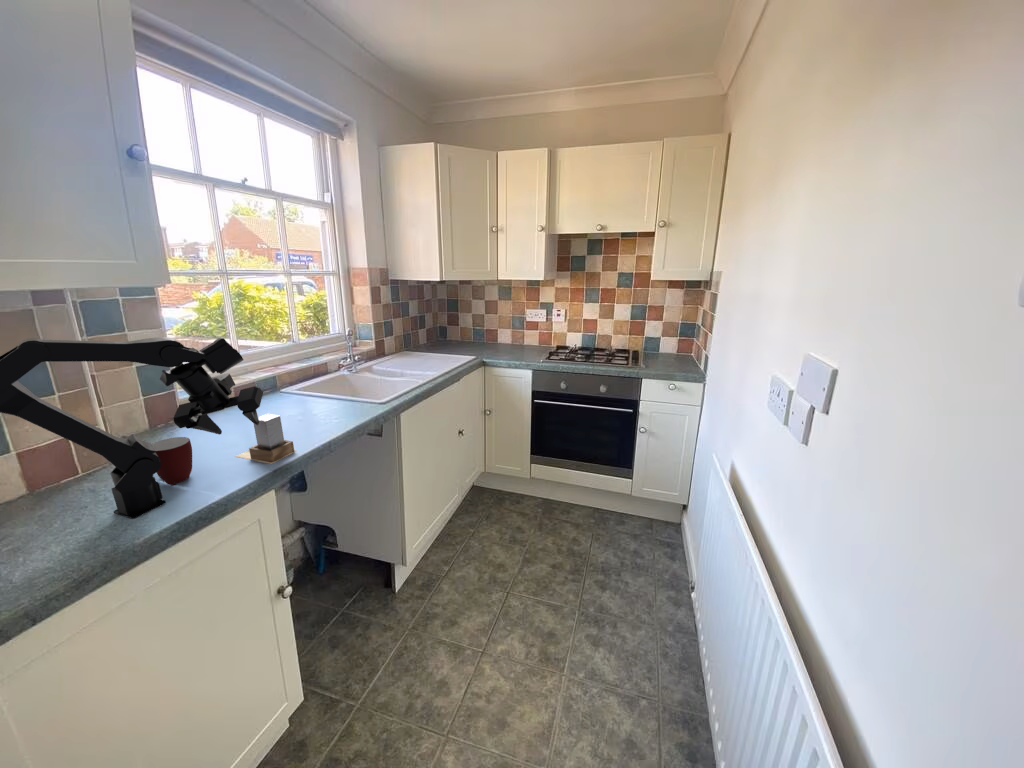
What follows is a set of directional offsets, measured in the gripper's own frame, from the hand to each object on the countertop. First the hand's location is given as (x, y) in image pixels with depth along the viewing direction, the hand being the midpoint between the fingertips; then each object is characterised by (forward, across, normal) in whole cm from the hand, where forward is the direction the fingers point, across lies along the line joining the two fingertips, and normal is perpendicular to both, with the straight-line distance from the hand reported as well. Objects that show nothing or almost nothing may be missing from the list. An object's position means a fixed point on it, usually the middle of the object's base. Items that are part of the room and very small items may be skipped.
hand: (239, 428), depth 104 cm
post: (+12, -2, 0) cm, 12 cm away
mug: (+5, +16, +7) cm, 19 cm away
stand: (+13, 0, -1) cm, 13 cm away
